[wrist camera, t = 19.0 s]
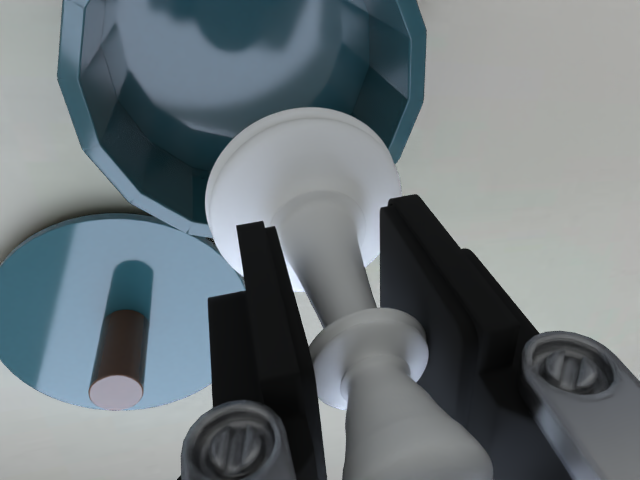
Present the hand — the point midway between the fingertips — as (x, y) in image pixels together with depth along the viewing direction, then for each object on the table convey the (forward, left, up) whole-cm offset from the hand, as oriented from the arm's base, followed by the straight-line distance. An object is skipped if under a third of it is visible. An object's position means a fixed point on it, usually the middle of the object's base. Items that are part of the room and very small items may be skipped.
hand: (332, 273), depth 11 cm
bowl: (0, 0, -17) cm, 17 cm away
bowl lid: (+9, +13, -16) cm, 23 cm away
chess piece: (0, 0, -3) cm, 3 cm away
